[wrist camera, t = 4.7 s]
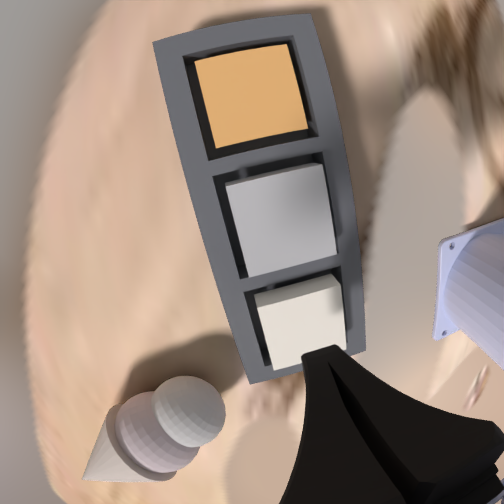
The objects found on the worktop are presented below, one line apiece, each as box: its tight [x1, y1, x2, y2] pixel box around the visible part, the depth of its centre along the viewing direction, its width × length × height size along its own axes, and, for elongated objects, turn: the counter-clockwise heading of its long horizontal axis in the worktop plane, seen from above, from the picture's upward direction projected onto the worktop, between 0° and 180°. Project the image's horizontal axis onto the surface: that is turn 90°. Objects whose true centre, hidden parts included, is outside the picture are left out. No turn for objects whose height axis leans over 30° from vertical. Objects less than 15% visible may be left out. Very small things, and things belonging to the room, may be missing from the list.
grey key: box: [225, 163, 337, 278], centre depth 12 cm, size 4×4×1 cm
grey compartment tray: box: [152, 13, 366, 384], centre depth 14 cm, size 6×16×3 cm, turn 13°
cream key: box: [254, 274, 346, 370], centre depth 14 cm, size 4×4×1 cm
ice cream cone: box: [82, 376, 226, 482], centre depth 16 cm, size 6×6×15 cm
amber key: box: [195, 44, 308, 148], centre depth 11 cm, size 4×4×1 cm
